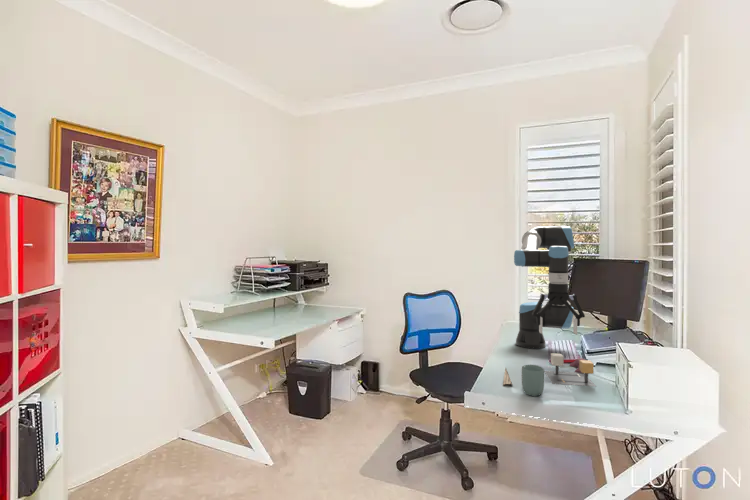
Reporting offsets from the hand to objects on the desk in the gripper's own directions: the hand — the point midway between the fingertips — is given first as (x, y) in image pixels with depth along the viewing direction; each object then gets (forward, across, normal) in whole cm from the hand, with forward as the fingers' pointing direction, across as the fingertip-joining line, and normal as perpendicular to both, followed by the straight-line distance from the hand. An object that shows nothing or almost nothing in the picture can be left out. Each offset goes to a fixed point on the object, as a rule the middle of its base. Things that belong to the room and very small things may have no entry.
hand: (557, 333), depth 169 cm
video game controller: (+19, +11, +9) cm, 24 cm away
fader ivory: (+17, 0, 0) cm, 17 cm away
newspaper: (+20, -18, -3) cm, 27 cm away
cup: (+19, -14, -21) cm, 31 cm away
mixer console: (+19, +3, -4) cm, 19 cm away
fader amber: (+17, +9, -8) cm, 21 cm away
